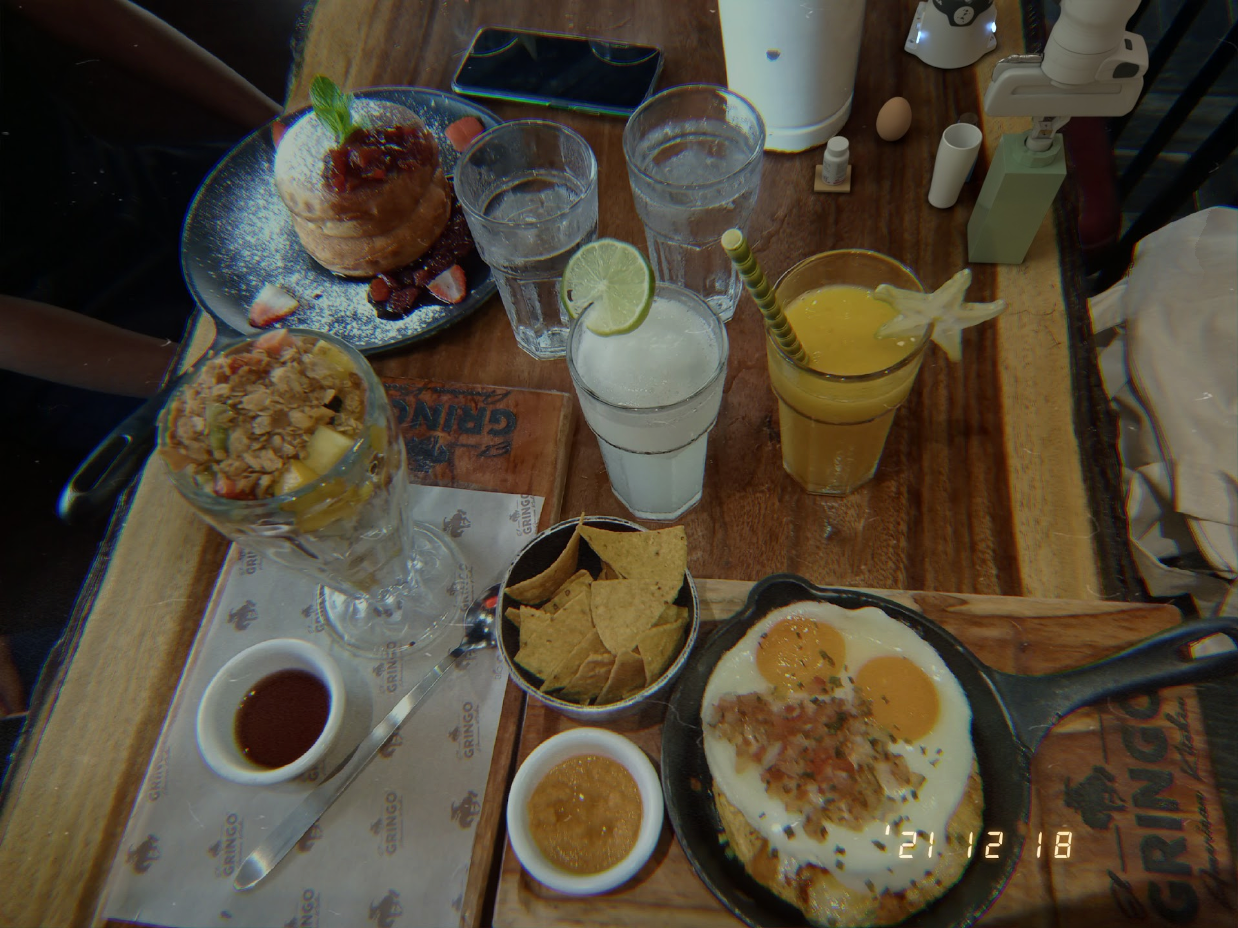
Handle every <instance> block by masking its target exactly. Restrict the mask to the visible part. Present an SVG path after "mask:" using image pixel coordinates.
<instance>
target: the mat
mask: <svg viewBox="0 0 1238 928" xmlns="http://www.w3.org/2000/svg"><path fill="white" fill-rule="evenodd" d="M822 169H823V164H816V165H815V171H814V172H815V174H814V185H813V193H851V179H852V178H851V177H852V175H851V174H852V164H848V166H847V172H846V177H845V180H844V181H843V182H842V183H840V184H838V185H828V184H826V183H824V182H823V180H822Z"/></svg>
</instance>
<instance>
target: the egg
mask: <svg viewBox="0 0 1238 928" xmlns="http://www.w3.org/2000/svg"><path fill="white" fill-rule="evenodd" d="M912 115H913V113H912V109H911V106H910V103H909V102H908V100H907V99H905V98H903V97H900V96H894V97H892V98H890V99H889V100H887V101H886V102H885V103H884V105H883V106H882V107H881V108H880V109H879V111H878V115H877V117H876V123H875V126H876V131H877V133H878V135H879V137H880V138H881V139H883V140H884V141H886V142H895V141H898V140H900V139H901V138H902V137H904V136H905V134H907V132H908V131H909V128H910V126H911V123H912V118H913V117H912Z"/></svg>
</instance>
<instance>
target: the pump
mask: <svg viewBox="0 0 1238 928" xmlns="http://www.w3.org/2000/svg"><path fill="white" fill-rule="evenodd" d="M1053 139H1054V137H1053V138H1032V131H1031V132H1030V134H1029V136H1028V138H1027V141H1026V143H1025V146H1026V147H1027V148H1028V149H1029V150H1031V151H1034V152H1045V151H1048V150H1049V148H1050V145H1051V143H1052V141H1053Z"/></svg>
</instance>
